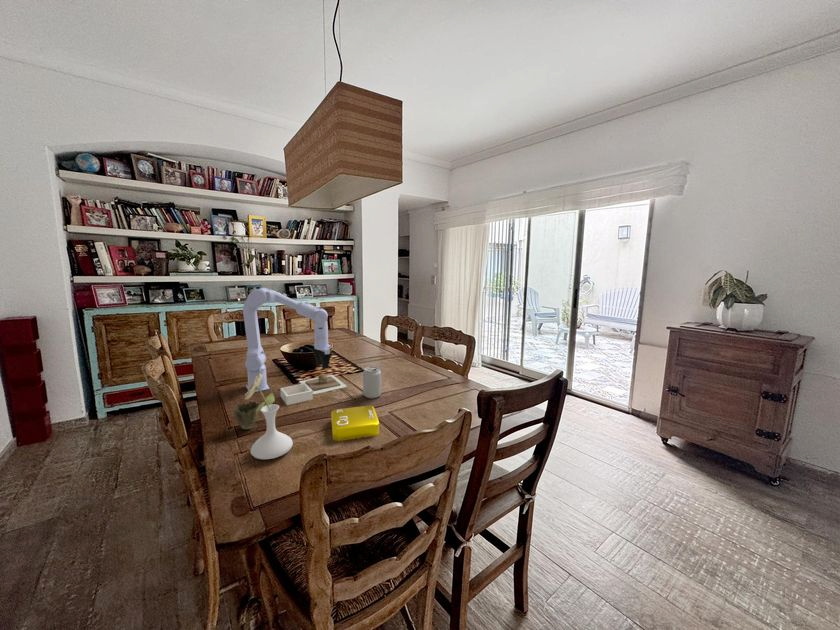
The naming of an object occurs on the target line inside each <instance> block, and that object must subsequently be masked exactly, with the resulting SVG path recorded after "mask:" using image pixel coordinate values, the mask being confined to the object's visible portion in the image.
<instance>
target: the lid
mask: <svg viewBox="0 0 840 630" xmlns="http://www.w3.org/2000/svg"><path fill="white" fill-rule="evenodd" d="M327 376H328V375H327V374H326V373H320V374H318V378H319V379H314V378H313V379H314V380H309V379H308V380H309V381H305V382H306V383H307V385H308V386H309V387H310V388H311V389H312V390H313V391H317V390H322V389H326V388H331V387H335V386H340V385H341V384H340V383H339V382H337V381H336V380H335V379H334V378H332V377H331V376H330V377H327Z"/></svg>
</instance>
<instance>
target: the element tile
mask: <svg viewBox="0 0 840 630" xmlns="http://www.w3.org/2000/svg"><path fill="white" fill-rule="evenodd" d="M330 415H331V416H330V418H331V433H332V440H333V441H336V442H342V441H348V440H355V438H357V439H362V438H361V437H364V438H369V437H370V438H371V437H376V436H378V435H379V433H380V421H379V418H378V415H377V412H376V410H375V407H374V406H373V405H362V406H354V407H352V406H351V407H345V408H335V409H332V411H331V414H330Z"/></svg>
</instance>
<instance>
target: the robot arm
mask: <svg viewBox="0 0 840 630" xmlns="http://www.w3.org/2000/svg"><path fill="white" fill-rule="evenodd" d="M267 303H268V304H270V303H279V304H282V305H283V306H286V307H289V308H292V309H294V310H295V312H296V313H297V315H300V316H302V317H305V318H307V319H309V320H313V322H314V327H313V328H314V330H313V331H314V346H313V347H314V348H311V351H312V353H313V355H314V358H315V361H316V365H321V367H322V370H324V369H329V364H330V361H331V358H332V356H333V353H332V352H331V350H330V348H331V347H332V345H331V344H329V328H328V317H329V316H328V315H329V314H328V311H326V310H325V309H324V308H320V307H319V306H314V305H313V304H310V303H309V301H307V300H306V301H300V302H298V301H296V300H294V299H293V298H290V297H288V296H287V295H284V294H283V293H280V292H278V291H276V290H274V289H269V288H268V287H260V288H257V289H254V290H252V291H251V292H250V293H249V294H248V296H247V298H246V300H245V302H244V304H243V306H242V313H243V314H242V315H243V322H244V330H245V336H246V337H245V338H246V346H247V350H246V356H245V357H246V360H245V362H244V366H245V369H246V370H247V371H246V373H247V384H246V385H245V388H246V389H247V392H248V391H249V390H250V389H249V386H250V385H253V384H254V381H255V378H256V377H258V376H259V374H261V375H263V377H262V380H261V382H260V384H259V389H260V390H261V392H263V391H267V390H268V391H269V390H270V387H269V385H268V381H267V380H268V378H267V367H266V365H265V363H266V362H267V355H266V353H265V352H264V348H263V347H262V344H261V343H262V342H261V336H260V335H261V334H260V327H259V326H260V325H259V319H258V309H260V308H261V306H263V305H264V304H267ZM258 392H260V391H259V390H258V389H257V390H256V391H255V392H254V393H258Z"/></svg>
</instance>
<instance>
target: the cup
mask: <svg viewBox="0 0 840 630" xmlns="http://www.w3.org/2000/svg"><path fill="white" fill-rule="evenodd" d="M259 405H260V404H259V402H257V401H251V400H250V401H249V402H248V403H246V402H242V403H237V405H234V407H232V409H233V414H234V418H235V421H236V424H237V425H239V426H240V427H241V429H242V431H249V430H251V429H253V428H254V427H255V423H256V421H257V420H258V417H259V411H257V412H256V410H257V408H258V407H259Z"/></svg>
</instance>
